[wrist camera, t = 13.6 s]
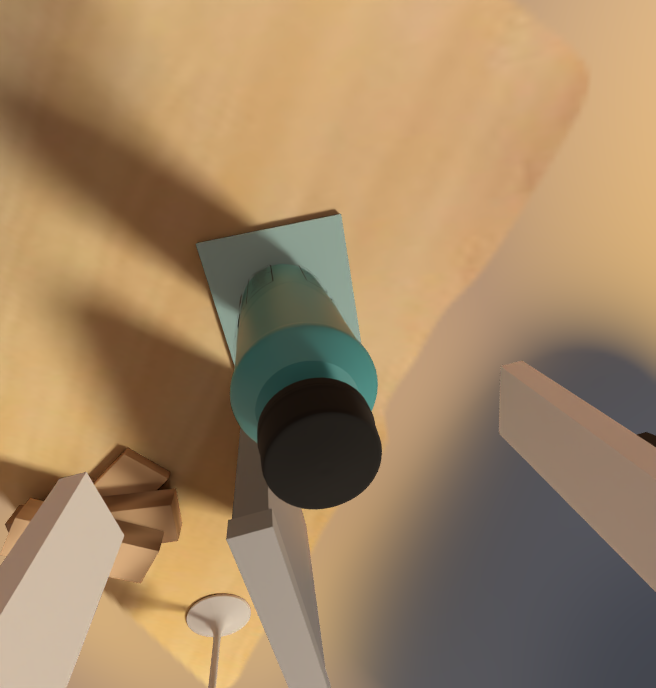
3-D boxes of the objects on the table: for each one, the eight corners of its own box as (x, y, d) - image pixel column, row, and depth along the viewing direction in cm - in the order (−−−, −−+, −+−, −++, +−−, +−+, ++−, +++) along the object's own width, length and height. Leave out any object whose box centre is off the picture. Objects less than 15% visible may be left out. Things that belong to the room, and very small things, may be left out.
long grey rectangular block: (241, 391, 32) (226, 539, 19) (268, 385, 33) (272, 526, 19) (286, 532, 40) (299, 714, 26) (308, 526, 40) (332, 703, 26)
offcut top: (164, 531, 33) (159, 551, 32) (146, 562, 34) (140, 583, 33) (30, 497, 30) (15, 517, 28) (14, 533, 31) (-1, 555, 29)
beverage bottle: (229, 270, 28) (170, 416, 10) (312, 246, 28) (408, 344, 10) (256, 346, 31) (251, 572, 12) (332, 323, 31) (436, 509, 13)
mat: (196, 243, 27) (195, 243, 27) (339, 213, 28) (341, 214, 28) (237, 371, 32) (237, 374, 31) (360, 342, 33) (361, 344, 32)
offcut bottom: (131, 439, 34) (124, 454, 32) (173, 463, 35) (168, 478, 34) (42, 532, 36) (30, 551, 34) (85, 551, 38) (76, 569, 36)
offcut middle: (175, 488, 34) (171, 505, 32) (182, 523, 36) (178, 540, 34) (19, 505, 32) (5, 524, 30) (33, 541, 34) (21, 561, 32)
